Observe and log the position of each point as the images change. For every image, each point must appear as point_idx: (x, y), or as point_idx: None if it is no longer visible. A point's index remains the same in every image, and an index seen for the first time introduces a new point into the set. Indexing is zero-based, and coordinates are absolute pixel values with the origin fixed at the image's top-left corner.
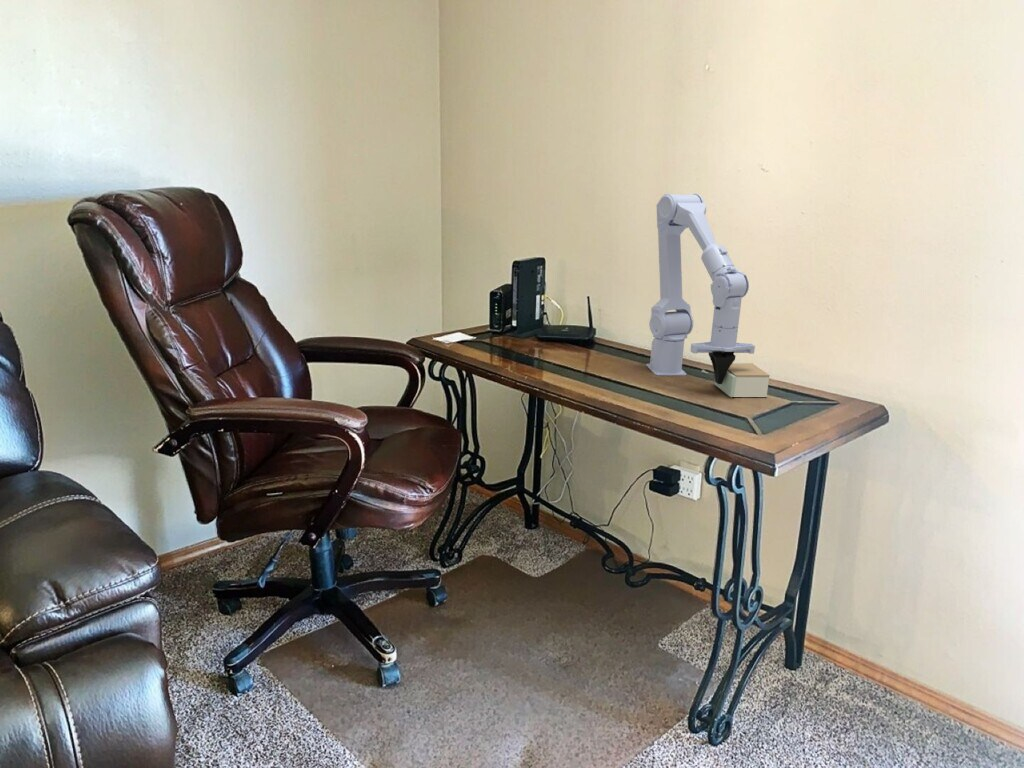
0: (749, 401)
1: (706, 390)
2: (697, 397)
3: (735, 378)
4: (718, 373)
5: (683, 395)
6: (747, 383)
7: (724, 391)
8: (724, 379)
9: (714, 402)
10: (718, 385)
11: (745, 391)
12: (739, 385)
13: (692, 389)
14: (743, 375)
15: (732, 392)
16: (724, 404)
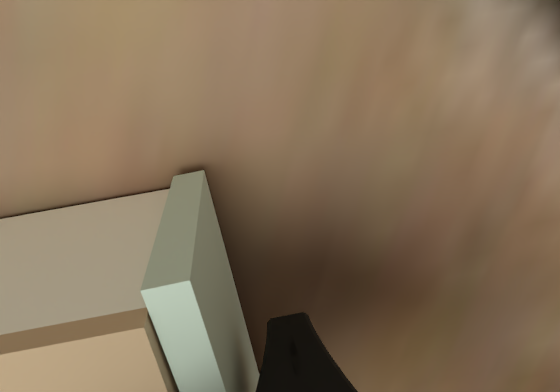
0: (36, 145)
1: (341, 334)
2: (458, 173)
3: (154, 274)
4: (346, 381)
5: (545, 200)
6: (8, 284)
7: (234, 287)
8: (243, 379)
9: (359, 63)
10: None
11: (54, 235)
12: (108, 256)
13: (430, 334)
14: (30, 347)
15: (188, 190)
16: (282, 15)
